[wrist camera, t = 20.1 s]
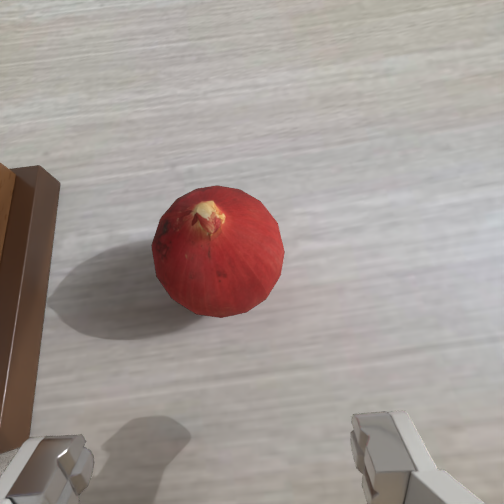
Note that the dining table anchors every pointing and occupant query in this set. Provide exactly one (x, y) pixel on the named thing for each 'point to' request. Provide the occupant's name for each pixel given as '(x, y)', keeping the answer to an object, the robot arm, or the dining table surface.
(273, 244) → the red pomegranate
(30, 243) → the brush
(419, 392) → the dining table surface
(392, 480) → the robot arm
